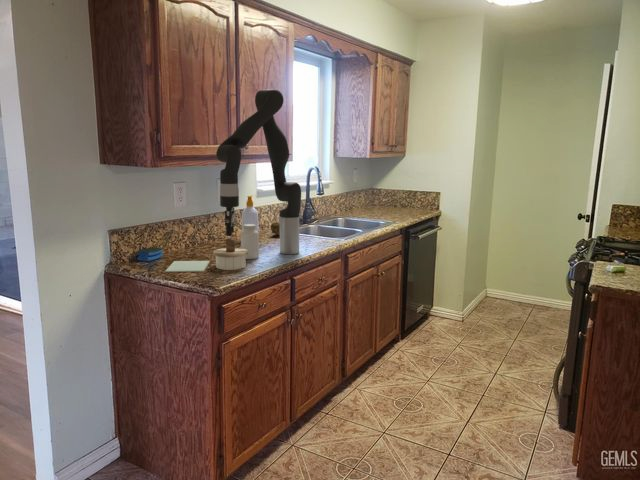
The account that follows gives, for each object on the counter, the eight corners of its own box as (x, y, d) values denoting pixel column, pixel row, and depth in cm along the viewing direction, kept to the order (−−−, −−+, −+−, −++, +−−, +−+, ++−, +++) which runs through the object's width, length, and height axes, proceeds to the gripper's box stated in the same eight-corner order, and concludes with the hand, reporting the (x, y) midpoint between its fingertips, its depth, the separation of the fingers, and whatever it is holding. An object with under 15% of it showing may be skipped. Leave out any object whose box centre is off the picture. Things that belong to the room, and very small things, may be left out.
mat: (174, 262, 209) (174, 261, 209) (209, 261, 211) (209, 260, 210) (165, 272, 193) (165, 270, 193) (203, 271, 194) (203, 270, 194)
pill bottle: (251, 260, 214) (250, 226, 211) (237, 258, 218) (236, 225, 215) (262, 257, 221) (262, 224, 218) (248, 254, 225) (248, 222, 222)
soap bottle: (260, 239, 263) (259, 195, 259) (256, 242, 254) (255, 197, 250) (245, 238, 264) (244, 194, 260) (240, 241, 255) (239, 196, 251)
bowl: (218, 263, 208) (217, 250, 207) (246, 262, 210) (246, 250, 208) (214, 270, 197) (214, 256, 196) (244, 269, 198) (244, 256, 197)
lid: (215, 250, 208) (215, 236, 207) (248, 249, 210) (248, 236, 208) (211, 257, 195) (210, 242, 194) (246, 257, 196) (246, 242, 195)
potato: (291, 234, 277) (291, 220, 276) (277, 238, 267) (277, 223, 265) (279, 233, 282) (279, 219, 280) (265, 236, 271) (265, 222, 270)
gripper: (237, 196, 191) (237, 237, 194) (240, 193, 205) (240, 231, 208) (217, 196, 190) (218, 237, 193) (221, 193, 204) (222, 231, 207)
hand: (230, 234), depth 200 cm, fingers open, 8 cm apart
